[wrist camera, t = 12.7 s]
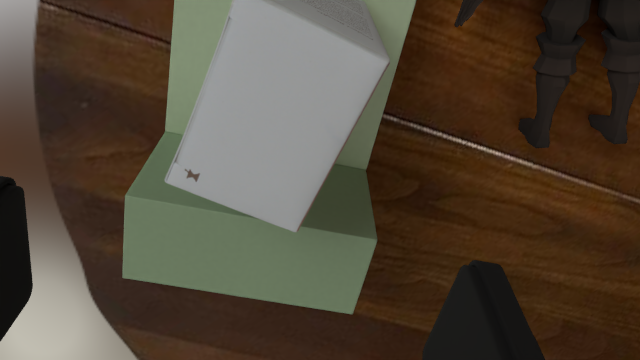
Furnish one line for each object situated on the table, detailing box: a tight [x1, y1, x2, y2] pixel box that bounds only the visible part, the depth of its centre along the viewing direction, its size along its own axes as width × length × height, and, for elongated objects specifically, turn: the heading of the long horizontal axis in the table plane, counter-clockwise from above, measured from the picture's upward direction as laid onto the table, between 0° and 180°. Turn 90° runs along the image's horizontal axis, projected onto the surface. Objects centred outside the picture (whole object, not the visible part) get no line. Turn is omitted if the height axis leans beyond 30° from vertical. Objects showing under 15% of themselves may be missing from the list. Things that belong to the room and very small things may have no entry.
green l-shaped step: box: [122, 0, 416, 314], centre depth 27 cm, size 16×12×10 cm
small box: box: [164, 0, 390, 232], centre depth 23 cm, size 8×6×10 cm
